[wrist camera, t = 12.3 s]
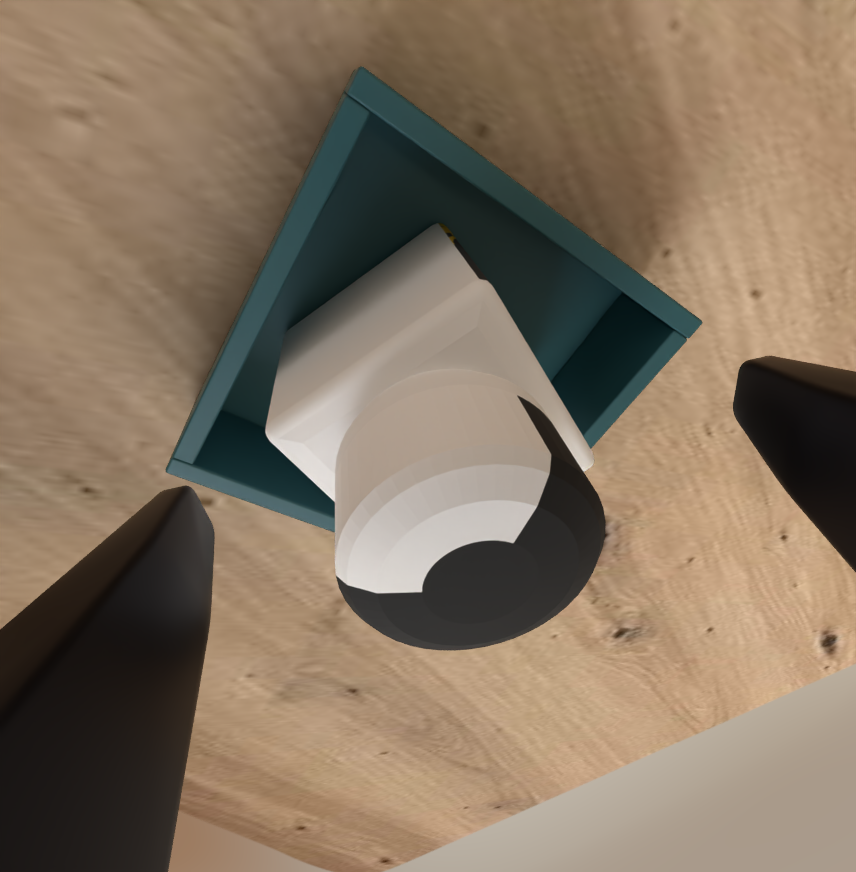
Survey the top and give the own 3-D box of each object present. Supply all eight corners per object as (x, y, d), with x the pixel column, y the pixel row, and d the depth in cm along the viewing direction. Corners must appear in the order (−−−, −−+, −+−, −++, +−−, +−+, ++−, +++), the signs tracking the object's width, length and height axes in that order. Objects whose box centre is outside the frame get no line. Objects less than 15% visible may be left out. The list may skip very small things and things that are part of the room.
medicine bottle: (531, 365, 22) (688, 591, 13) (391, 455, 24) (431, 721, 14) (440, 215, 19) (559, 366, 9) (280, 332, 20) (227, 575, 10)
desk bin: (453, 513, 27) (473, 582, 23) (193, 406, 22) (164, 473, 18) (640, 281, 22) (704, 322, 18) (354, 68, 17) (360, 64, 13)
